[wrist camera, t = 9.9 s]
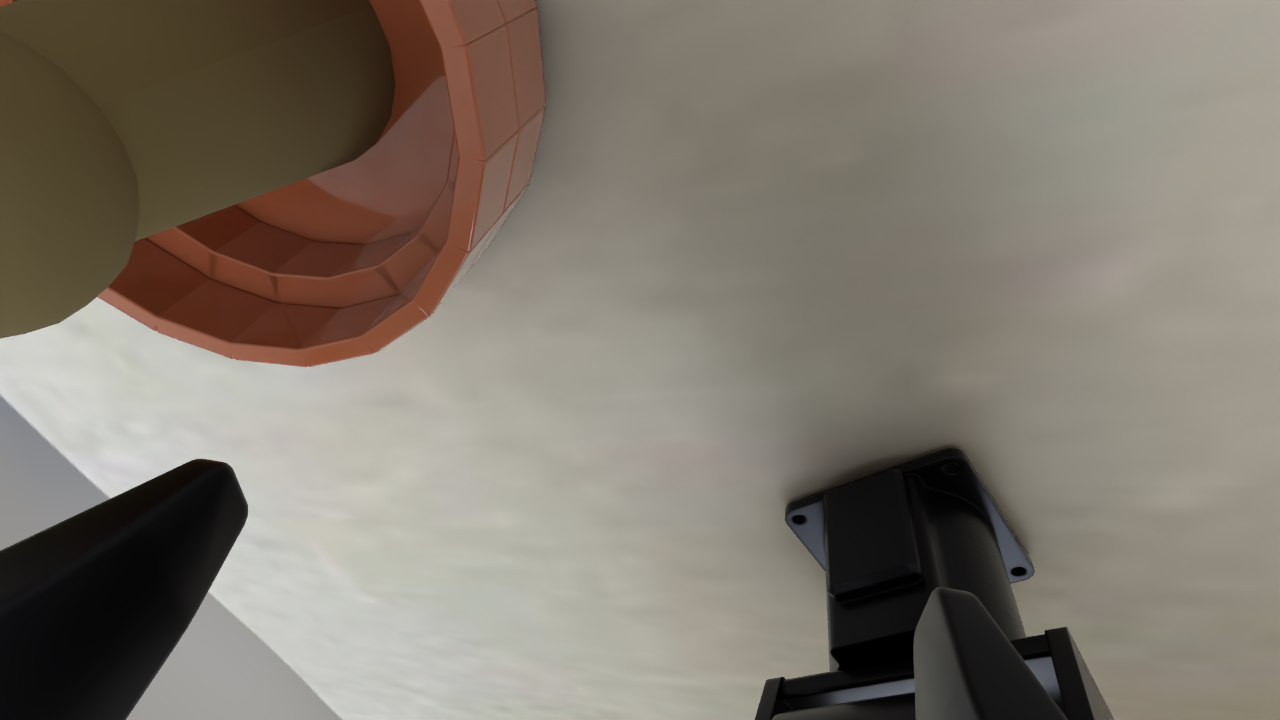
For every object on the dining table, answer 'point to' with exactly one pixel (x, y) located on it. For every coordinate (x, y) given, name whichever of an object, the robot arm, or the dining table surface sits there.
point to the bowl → (363, 205)
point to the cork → (164, 125)
